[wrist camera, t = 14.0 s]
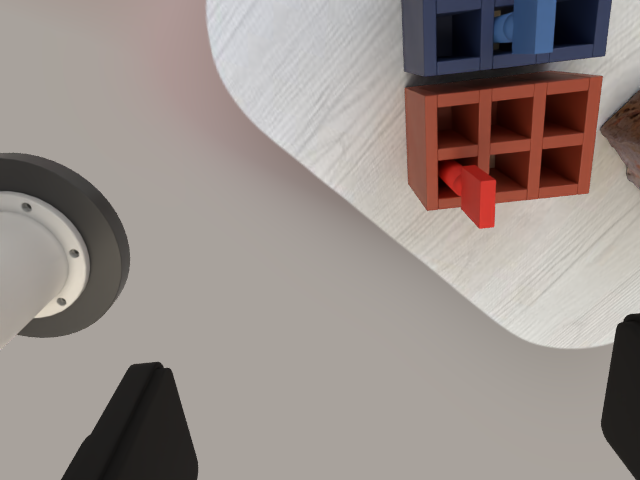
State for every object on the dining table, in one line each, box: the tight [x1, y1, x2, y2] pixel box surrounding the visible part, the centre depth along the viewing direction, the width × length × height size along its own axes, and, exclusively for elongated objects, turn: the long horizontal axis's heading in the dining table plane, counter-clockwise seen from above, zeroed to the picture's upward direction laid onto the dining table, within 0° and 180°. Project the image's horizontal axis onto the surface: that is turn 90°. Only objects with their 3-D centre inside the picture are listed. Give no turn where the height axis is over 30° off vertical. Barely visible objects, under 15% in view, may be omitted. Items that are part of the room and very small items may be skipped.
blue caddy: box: [401, 0, 612, 77], centre depth 34 cm, size 13×9×8 cm
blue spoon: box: [493, 0, 556, 54], centre depth 31 cm, size 2×3×14 cm, turn 6°
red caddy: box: [405, 71, 603, 211], centre depth 38 cm, size 13×9×8 cm
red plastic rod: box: [438, 159, 496, 229], centre depth 36 cm, size 2×3×14 cm, turn 6°
